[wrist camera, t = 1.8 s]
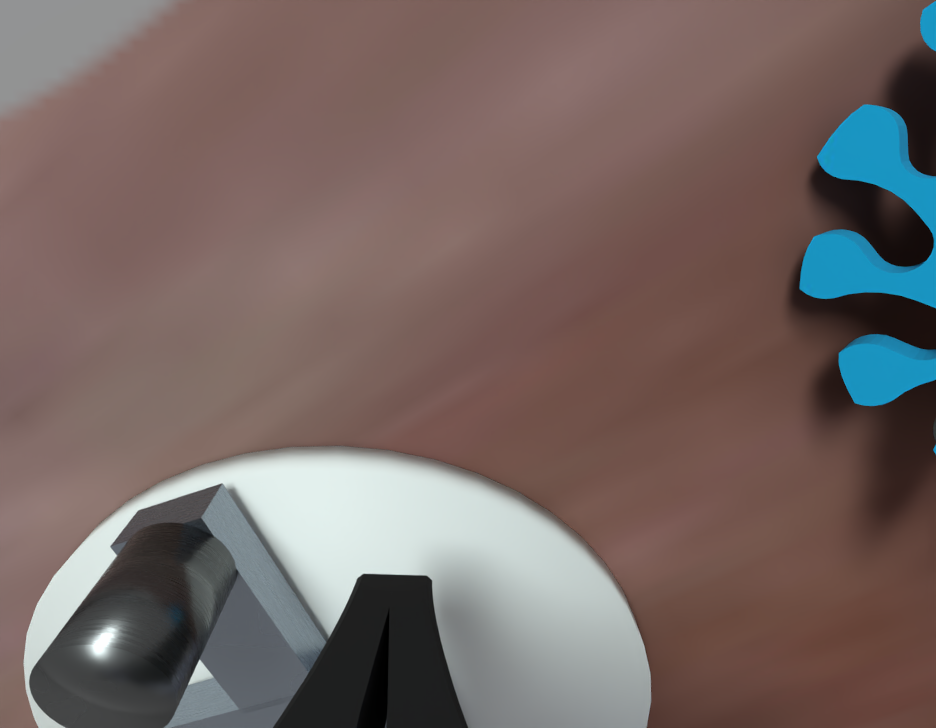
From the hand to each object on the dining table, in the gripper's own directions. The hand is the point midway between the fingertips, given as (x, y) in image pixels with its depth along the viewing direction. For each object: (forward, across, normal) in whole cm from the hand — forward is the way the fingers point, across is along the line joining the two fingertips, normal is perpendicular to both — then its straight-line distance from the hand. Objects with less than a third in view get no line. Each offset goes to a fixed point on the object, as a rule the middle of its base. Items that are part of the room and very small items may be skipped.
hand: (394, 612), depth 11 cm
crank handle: (+3, +3, +5) cm, 6 cm away
